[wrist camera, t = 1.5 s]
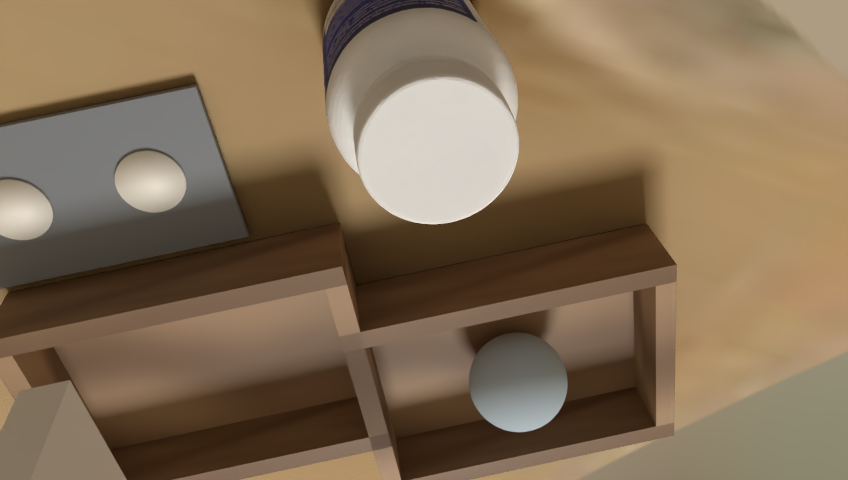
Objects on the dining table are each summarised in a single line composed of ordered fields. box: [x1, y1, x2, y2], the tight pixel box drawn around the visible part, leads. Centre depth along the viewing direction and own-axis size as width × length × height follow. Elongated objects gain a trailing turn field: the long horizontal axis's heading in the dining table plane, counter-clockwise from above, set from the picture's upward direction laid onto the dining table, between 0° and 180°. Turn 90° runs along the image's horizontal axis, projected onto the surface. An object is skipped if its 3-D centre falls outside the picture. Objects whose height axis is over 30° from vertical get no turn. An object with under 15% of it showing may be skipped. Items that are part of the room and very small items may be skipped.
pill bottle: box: [323, 0, 519, 224], centre depth 22 cm, size 5×5×9 cm
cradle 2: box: [339, 224, 677, 480], centre depth 32 cm, size 9×13×3 cm
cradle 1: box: [0, 223, 392, 480], centre depth 30 cm, size 9×13×3 cm
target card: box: [0, 84, 249, 289], centre depth 27 cm, size 6×10×1 cm, turn 100°
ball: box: [469, 332, 568, 432], centre depth 31 cm, size 4×4×4 cm
